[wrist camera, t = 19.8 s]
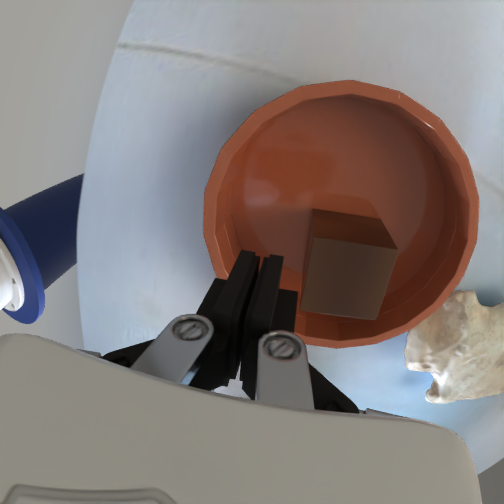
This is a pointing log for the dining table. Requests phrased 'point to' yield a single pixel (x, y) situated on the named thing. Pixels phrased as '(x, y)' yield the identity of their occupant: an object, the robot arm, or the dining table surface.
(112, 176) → the dining table surface
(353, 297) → the block
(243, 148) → the bowl
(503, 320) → the rock
